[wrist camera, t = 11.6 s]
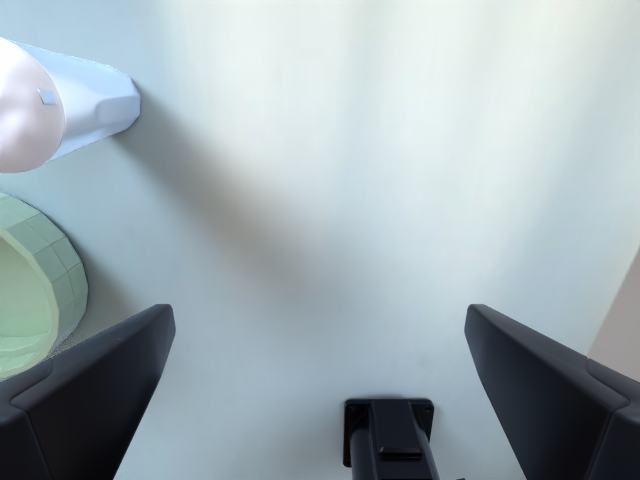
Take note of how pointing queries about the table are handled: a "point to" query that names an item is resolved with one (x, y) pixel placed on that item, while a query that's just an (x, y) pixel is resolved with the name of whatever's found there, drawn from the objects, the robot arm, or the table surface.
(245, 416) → the table surface
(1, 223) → the dish
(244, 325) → the table surface
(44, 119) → the milkshake
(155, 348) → the robot arm
